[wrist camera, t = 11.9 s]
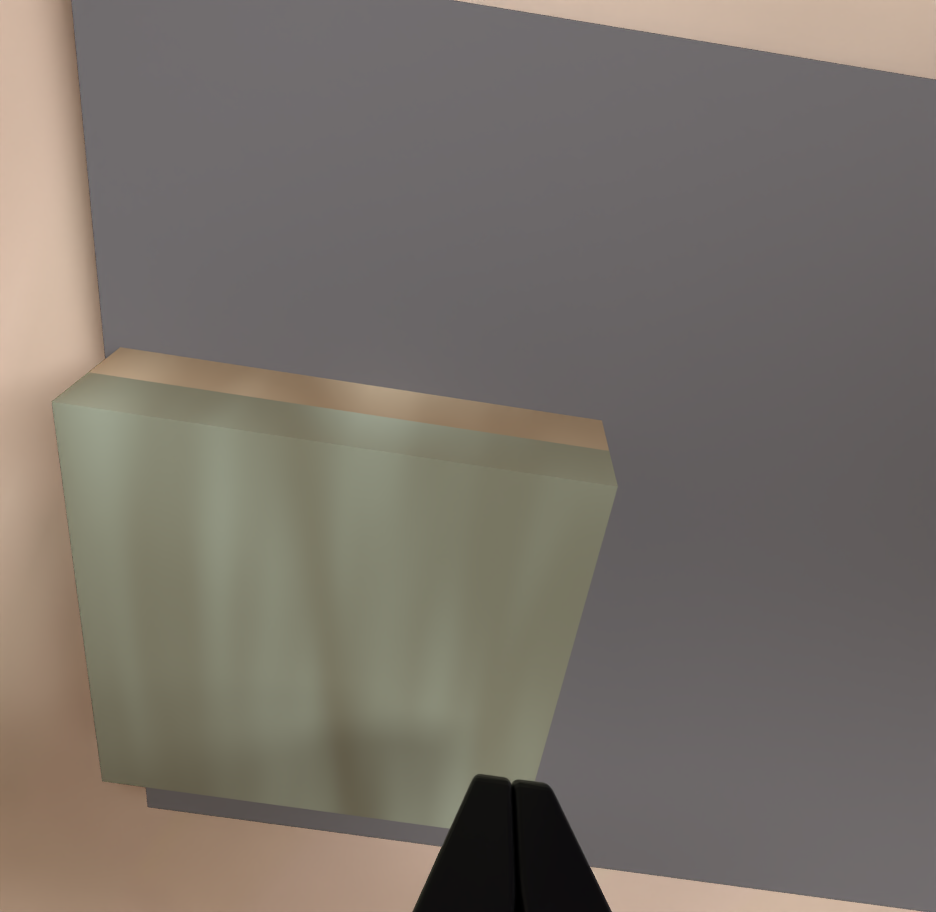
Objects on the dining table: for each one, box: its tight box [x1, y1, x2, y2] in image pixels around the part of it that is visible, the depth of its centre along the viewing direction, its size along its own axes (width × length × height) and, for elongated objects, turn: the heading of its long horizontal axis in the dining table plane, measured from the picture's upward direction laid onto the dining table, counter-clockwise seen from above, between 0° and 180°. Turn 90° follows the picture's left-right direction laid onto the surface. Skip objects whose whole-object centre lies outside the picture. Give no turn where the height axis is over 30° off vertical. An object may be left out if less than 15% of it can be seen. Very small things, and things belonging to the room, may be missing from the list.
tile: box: [52, 347, 618, 829], centre depth 10 cm, size 2×6×6 cm
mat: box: [71, 0, 936, 912], centre depth 11 cm, size 16×13×1 cm
